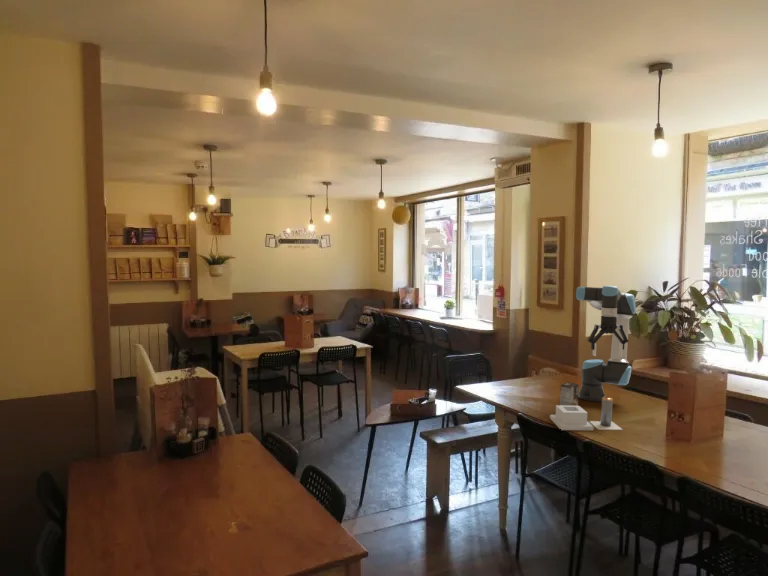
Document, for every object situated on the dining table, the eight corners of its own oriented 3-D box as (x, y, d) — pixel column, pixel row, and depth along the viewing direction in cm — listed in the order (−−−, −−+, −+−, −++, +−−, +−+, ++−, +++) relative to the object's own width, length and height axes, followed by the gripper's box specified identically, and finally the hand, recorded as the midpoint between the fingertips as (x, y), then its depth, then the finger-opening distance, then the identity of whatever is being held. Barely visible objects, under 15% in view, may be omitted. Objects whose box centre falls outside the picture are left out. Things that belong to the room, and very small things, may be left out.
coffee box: (566, 410, 293) (568, 381, 292) (578, 412, 289) (579, 384, 288) (559, 413, 287) (560, 384, 286) (570, 416, 283) (571, 387, 281)
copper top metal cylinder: (598, 423, 270) (600, 396, 269) (608, 423, 270) (610, 396, 269) (602, 426, 266) (604, 399, 264) (612, 426, 265) (614, 399, 264)
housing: (549, 418, 279) (550, 403, 279) (580, 418, 279) (580, 403, 278) (560, 430, 261) (561, 414, 261) (593, 430, 261) (593, 414, 260)
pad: (589, 421, 274) (589, 421, 274) (612, 422, 274) (612, 421, 274) (598, 429, 262) (598, 429, 262) (622, 430, 262) (622, 429, 262)
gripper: (587, 316, 269) (586, 357, 271) (636, 316, 269) (634, 357, 271) (582, 314, 277) (580, 354, 279) (629, 314, 277) (627, 353, 279)
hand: (607, 355), depth 275 cm, fingers open, 13 cm apart
